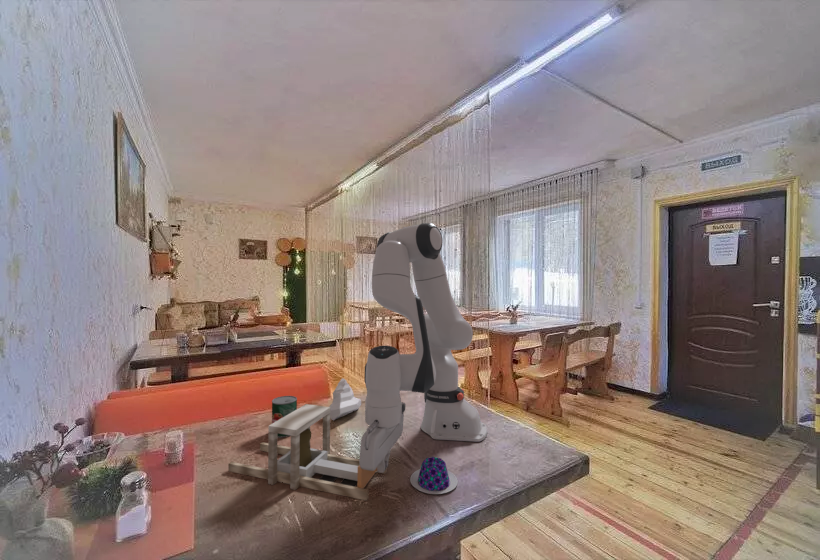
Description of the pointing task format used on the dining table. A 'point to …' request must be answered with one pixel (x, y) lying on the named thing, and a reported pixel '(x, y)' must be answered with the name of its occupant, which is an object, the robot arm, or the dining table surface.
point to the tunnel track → (293, 427)
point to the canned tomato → (283, 409)
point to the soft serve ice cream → (343, 401)
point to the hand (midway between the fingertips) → (382, 469)
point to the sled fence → (327, 468)
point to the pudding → (433, 477)
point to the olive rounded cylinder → (305, 448)
